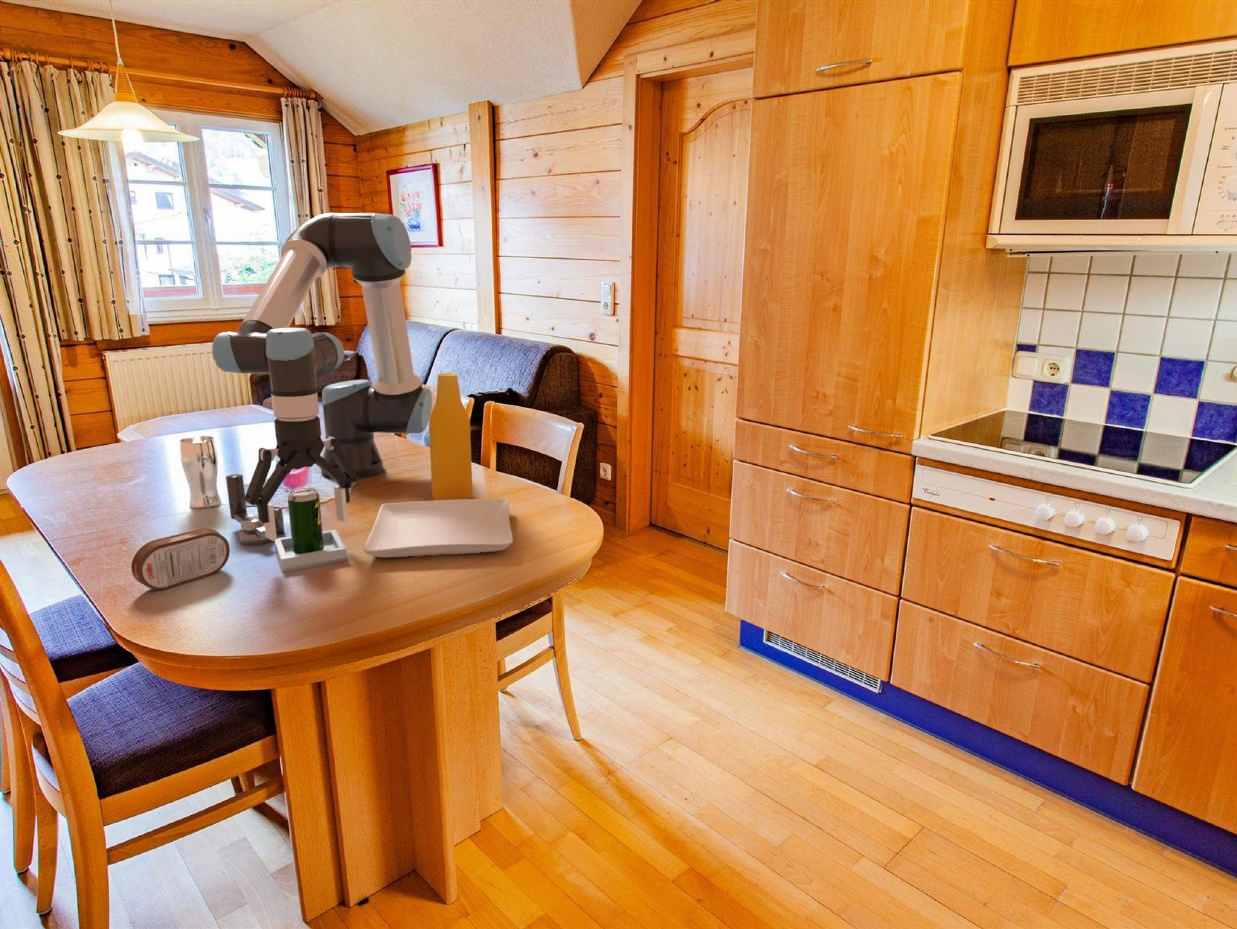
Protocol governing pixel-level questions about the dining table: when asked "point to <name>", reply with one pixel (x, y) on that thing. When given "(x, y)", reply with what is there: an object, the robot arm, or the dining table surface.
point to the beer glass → (200, 470)
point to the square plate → (440, 528)
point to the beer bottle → (450, 443)
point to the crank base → (255, 539)
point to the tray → (330, 553)
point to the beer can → (305, 520)
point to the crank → (242, 506)
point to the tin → (180, 558)
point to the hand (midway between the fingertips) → (308, 528)
